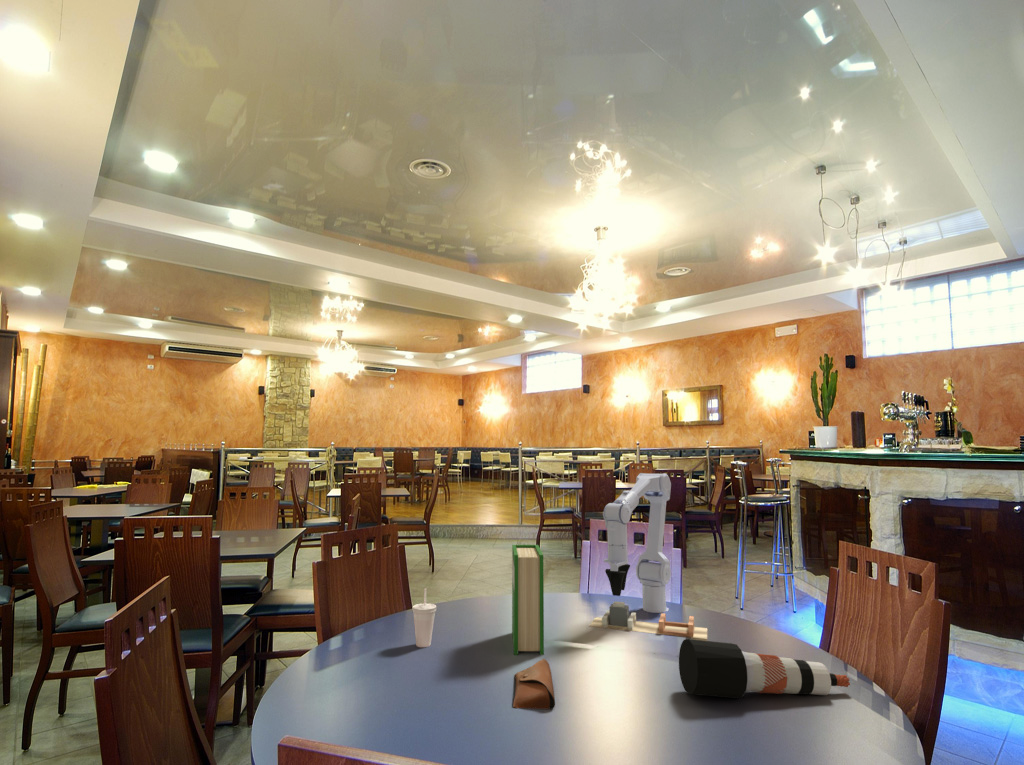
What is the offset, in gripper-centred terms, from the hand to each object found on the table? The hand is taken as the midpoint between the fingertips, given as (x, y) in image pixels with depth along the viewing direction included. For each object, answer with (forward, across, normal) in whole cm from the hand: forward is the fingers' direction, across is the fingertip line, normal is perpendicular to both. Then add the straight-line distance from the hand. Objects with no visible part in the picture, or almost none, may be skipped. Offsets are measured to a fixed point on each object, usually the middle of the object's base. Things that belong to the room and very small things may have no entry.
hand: (618, 592), depth 158 cm
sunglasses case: (+11, +50, -10) cm, 52 cm away
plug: (+9, 0, 0) cm, 9 cm away
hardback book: (+10, +22, -21) cm, 32 cm away
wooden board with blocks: (+10, 0, +8) cm, 13 cm away
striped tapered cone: (+10, +35, +36) cm, 51 cm away
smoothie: (+10, +33, -46) cm, 58 cm away
